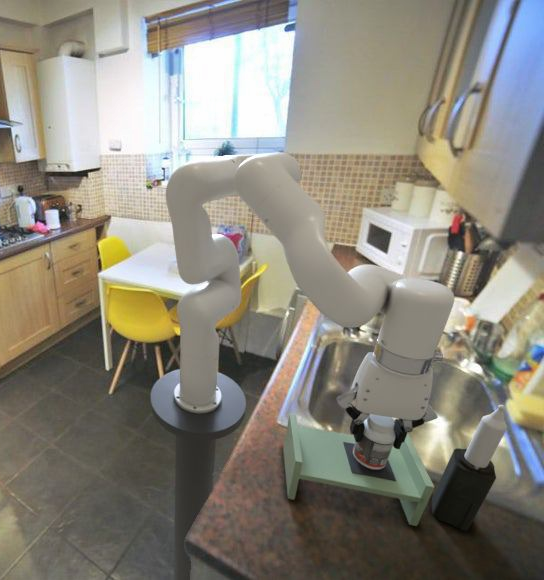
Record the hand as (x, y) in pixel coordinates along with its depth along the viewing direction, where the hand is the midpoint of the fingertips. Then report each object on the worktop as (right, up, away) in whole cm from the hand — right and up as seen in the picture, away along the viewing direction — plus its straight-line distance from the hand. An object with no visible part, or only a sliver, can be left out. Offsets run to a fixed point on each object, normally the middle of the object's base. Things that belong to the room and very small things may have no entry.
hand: (374, 438), depth 65 cm
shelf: (-2, -11, +6) cm, 13 cm away
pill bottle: (0, -5, +2) cm, 5 cm away
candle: (+13, -14, 0) cm, 19 cm away
